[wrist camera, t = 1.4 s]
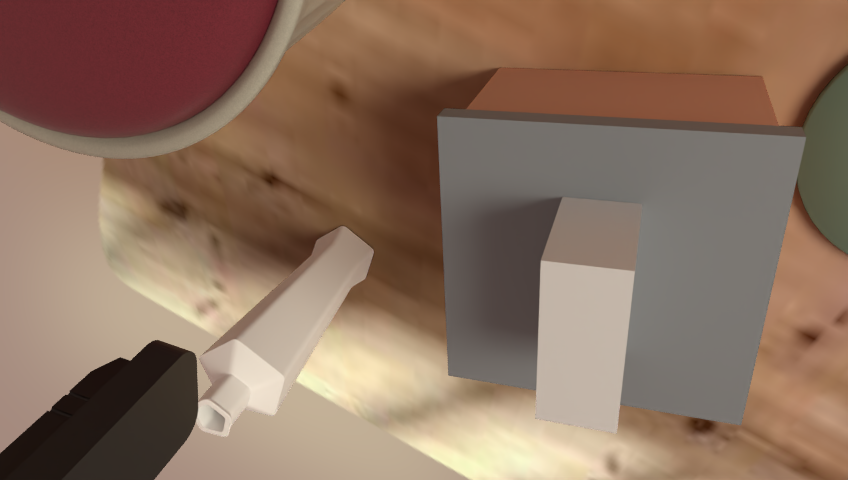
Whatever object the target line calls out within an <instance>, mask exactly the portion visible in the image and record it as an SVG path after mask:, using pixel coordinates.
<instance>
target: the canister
mask: <svg viewBox="0 0 848 480" xmlns="http://www.w3.org/2000/svg"><path fill="white" fill-rule="evenodd" d="M344 1H345V0H0V121H1V122H2V123H4V124H6V125H8V126H9V127H12V128H13V129H15V130H17V131H19V132H21V133H23V134H25V135H27V136H30V137H32V138H34V139H36V140H39V141H41V142H44V143H47V144H50V145H52V146H55V147H58V148H61V149H64V150H68V151H71V152H75V153H79V154H84V155H89V156H95V157H103V158H114V159H134V158H146V157H153V156H158V155H163V154H167V153H171V152H174V151H177V150H180V149H183V148H186V147H188V146H190V145H193V144H195V143H197V142H199V141H201V140H203V139H205V138H206V137H208V136H210V135H212V134H213V133H215V132H216V131H218V130H220V129H221V128H222V127H224V126H225V125H227V124H228V123H229V122H230V121H232V120H233V119H234V118H235V117H236V116H238V115H239V114H240V113H241V112H242V111H243V110H244V109H245V108H246V107H247V106H248V105H249V104H250V103H251V102H252V101H253V100H254V98H255V97H256V96H257V95H258V94H259V92H260V91H261V90H262V89H263V87H264V86H265V85H266V83H267V82H268V80H269V79H270V77H271V76H272V74H273V73H274V71H275V70H276V68H277V66H278V64H279V63H280V61H281V59H282V57H283V55H284V53H285V52H286V51H287V50H288V49H289V48H290V47H292V46H293V45H294V44H295V43H296V42H298V41H299V40H300V39H301V38H303V37H304V36H305V35H306V34H307V33H309V32H310V31H311V30H312V29H314V28H315V27H316V26H317V25H318V24H319V23H321V22H322V21H323V20H324V19H325V18H326V17H328V16H329V15H330V14H331V13H332V12H333V11H334V10H335V9H336V8H337V7H339V6H340V5H341V4H342V3H343V2H344Z"/></svg>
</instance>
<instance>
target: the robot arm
mask: <svg viewBox="0 0 848 480" xmlns="http://www.w3.org/2000/svg"><path fill="white" fill-rule="evenodd" d="M197 386H198V385H197V360H196V356H195V354H194V353H193V352H191V351H188V350H185V349H182V348H179V347H177V346H174V345H171V344H168V343H165V342H162V341H159V340H155V341H152V342H151V343H149V344H148V345H147V346H146V347H144V348H143V349H142V350H141V352H139V353H138V354H137V355H136V356H135V357H134V358H133V359H132V360H131V361H129V360H126V359H123V358H118V359H116V360H114V361H112V362H110V363H108V364H105V365H103V366H101V367H99V368H97V369H95V370H93V371H91V372H90V373H89V374H88V375H87V376H86V377H85V378H83V379H82V380H81V381H80V382H79V383H78V384H77V385H76V386H75V387H74V388H72V389H71V390H70V393H69V394H68V395H65V396H63V397H62V398H61V399H60V400H59V401H58V402H57V403H56V404H55V405H54V406H52V409H51V411H50V412H49V411H47V412H46V413H45V414H44V415H43V416H41V417H40V418H39V419H38V420H37V421H36V422H35V423H33V424H32V426H30V427H29V428H28V429H27V430H26V431H25V432H23V433H22V434H21V435H20V436H19V437H18V438H17V439H16V440H15V441H14V442H12V443H11V444H10V445H9V446H8V447H7V448H6V449H5V450H4V451H2V452H1V453H0V480H154V479H155V478H156V477H157V475H158V474H159V473H160V472H161V471H162V469H163V468H164V467H165V466H166V464H167V463H168V462H169V461H170V460H171V458H172V457H173V456H174V455H175V453H176V452H177V451H178V450H179V449H180V447H181V446H182V445H183V444H184V442H185V441H186V440H187V438H188V437H189V435H190V433H191V431H192V429H193V427H194V425H195V422H196V419H197V415H198V387H197Z"/></svg>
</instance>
